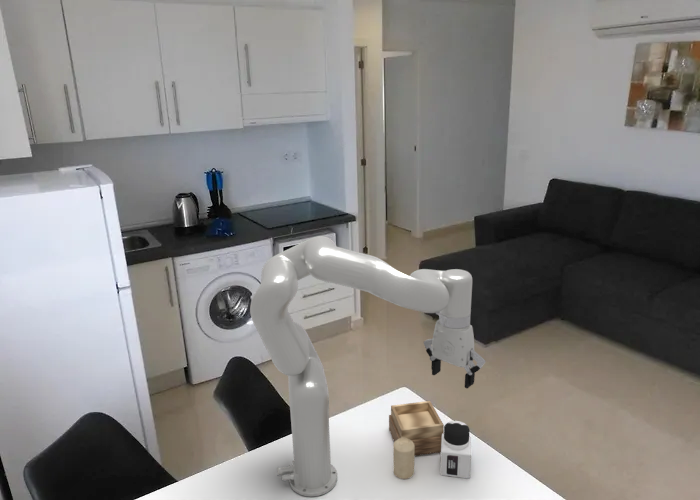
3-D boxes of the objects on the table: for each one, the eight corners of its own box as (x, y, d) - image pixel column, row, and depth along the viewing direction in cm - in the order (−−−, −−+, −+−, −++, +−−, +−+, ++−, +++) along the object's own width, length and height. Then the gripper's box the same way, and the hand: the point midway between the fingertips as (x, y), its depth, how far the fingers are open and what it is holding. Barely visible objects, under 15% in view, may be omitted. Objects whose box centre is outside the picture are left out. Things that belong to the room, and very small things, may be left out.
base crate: (400, 458, 144) (400, 443, 143) (389, 429, 157) (389, 415, 155) (445, 452, 146) (446, 437, 145) (430, 423, 159) (430, 409, 157)
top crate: (401, 441, 144) (401, 430, 143) (391, 415, 155) (390, 405, 154) (443, 435, 146) (443, 425, 145) (429, 410, 157) (430, 400, 156)
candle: (391, 466, 142) (391, 434, 139) (411, 464, 142) (411, 432, 139) (395, 480, 137) (395, 448, 134) (416, 478, 137) (416, 446, 134)
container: (470, 479, 136) (472, 437, 132) (440, 475, 138) (441, 433, 134) (469, 459, 143) (471, 418, 140) (441, 456, 145) (442, 415, 141)
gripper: (417, 314, 133) (416, 374, 138) (478, 334, 122) (475, 398, 127) (433, 305, 138) (431, 363, 143) (493, 323, 127) (489, 385, 132)
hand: (452, 379), depth 135 cm, fingers open, 9 cm apart
